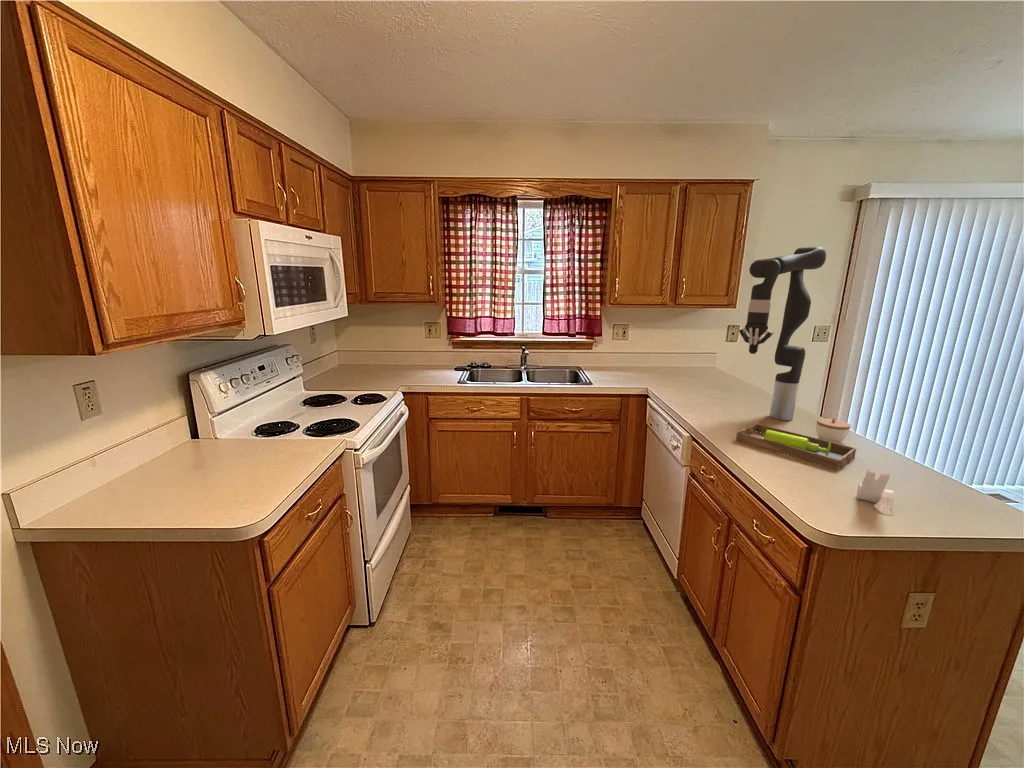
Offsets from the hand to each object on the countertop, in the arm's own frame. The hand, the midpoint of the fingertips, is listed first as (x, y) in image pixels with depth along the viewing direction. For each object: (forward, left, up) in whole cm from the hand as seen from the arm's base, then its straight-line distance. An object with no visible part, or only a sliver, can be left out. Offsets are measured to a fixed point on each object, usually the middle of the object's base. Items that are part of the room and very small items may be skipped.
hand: (752, 353), depth 181 cm
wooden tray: (+10, +23, -32) cm, 41 cm away
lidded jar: (-11, +29, -32) cm, 45 cm away
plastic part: (+38, +54, -32) cm, 74 cm away
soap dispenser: (+15, +15, -28) cm, 35 cm away
